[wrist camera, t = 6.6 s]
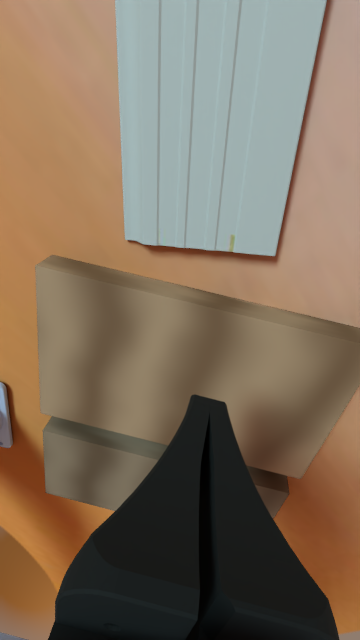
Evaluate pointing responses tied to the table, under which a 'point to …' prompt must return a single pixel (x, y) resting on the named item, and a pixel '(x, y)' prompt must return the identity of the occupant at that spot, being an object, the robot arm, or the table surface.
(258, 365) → the plank
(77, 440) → the floor panel
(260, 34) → the baseboard
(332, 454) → the table surface
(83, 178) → the table surface
